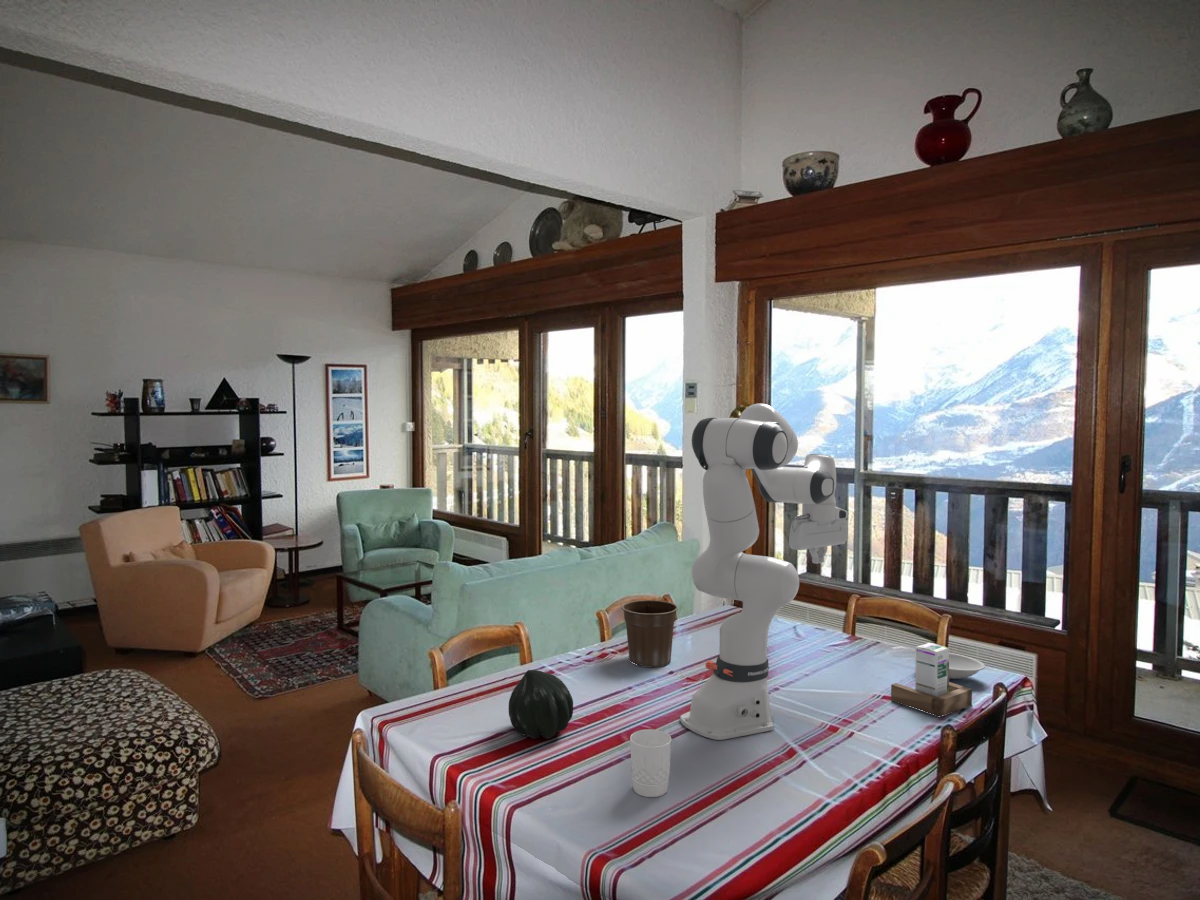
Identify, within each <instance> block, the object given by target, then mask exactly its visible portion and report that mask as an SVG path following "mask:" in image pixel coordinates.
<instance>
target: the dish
mask: <svg viewBox="0 0 1200 900" xmlns="http://www.w3.org/2000/svg"><path fill="white" fill-rule="evenodd" d="M914 658H915V659H916V653H914ZM985 668H986V665H985V663H983V662H982V661H980V660H978V659H975V658H973V657H970V656H966V655H962V654H958V653H953V652H949V680H952V679H967V678H970V677H972V676H974V675H976V674H977V673H979V672H980V671H983V670H984V669H985Z"/></svg>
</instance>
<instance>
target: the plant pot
mask: <svg viewBox="0 0 1200 900" xmlns="http://www.w3.org/2000/svg"><path fill="white" fill-rule="evenodd" d="M678 608H679V607H678V605H676V604H675V603H673V602H669V601H665V600H657V599H653V600H652V599H643V600H642V599H641V600H633V601H629V602H626V603H623V604H622V605H621V609H622V610H623V615H624V616H623V618H624V622H625V627H626V629H625V630H626V637H627V649H628V660H630V661H631V662H633V663H635V664H637V665H638V666H640V665H641V666H643V667H644V666H651V667H650V668H656V667H655V666H660V667H663V666H662V665H664V666H666V664H667V665H668V662H670V663H671V661H672V648H673V639H674V637H673V636H674V628H675V627H674V625H675V622H676V616H677V611H678V610H679V609H678ZM630 661H629V662H630ZM631 662H630V663H631ZM637 665H636V666H637Z"/></svg>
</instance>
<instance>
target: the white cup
mask: <svg viewBox="0 0 1200 900" xmlns="http://www.w3.org/2000/svg"><path fill="white" fill-rule="evenodd" d="M629 737H630V738H629V740H630V741H629V742H630V744H629V745H630V764H631V775H632V777H631V778H632V790H633V791H634V793H636V794H637V795H639V796H641V797H642V796H643V797H647V798H657V797H661V796H663V795H665V794H666V793H668V790H669V788H668V787H669V777H670V769H671V756H672V755H671V754H672V753H671V752H672V751H671V750H672V737H671V735H670V734H669V733H667V732H665V731H662V730H659V729H650V728H649V729H640V730H636V731H634V732H633V733H631V735H630V736H629Z"/></svg>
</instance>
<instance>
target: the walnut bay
mask: <svg viewBox="0 0 1200 900" xmlns="http://www.w3.org/2000/svg"><path fill="white" fill-rule="evenodd" d="M890 689H891V690H890V701H892V700H893V702H895V701H896V703H898V702H899V703H898V704H900V703H902V704H901V705H903V704H904V705H903V706H906V705H907V706H906V707H909V706H911V707H914V708H917V709H920V710H923V711H925V712H928V713H931V714H934V715H936V716H942V715H945V714H947V715H949V714H948V713H950V714H952V713H954V711H955V712H957V711H961V710H963V709H965V708H968V707H970V706H972V703H973V699H972V698H973V689H972V688H969V687H967V686H963V685H960V684H957V683H954V682H952V681H951V682H950V681H949V692H948V693H945V694H943V695H940V696H937V697H936V696H933V695H930V694H927V693H924V692H921V691H918V690H915V688H912V687H909V686H906V685H904V684H900V683H897V682H895V683H891V685H890ZM911 707H910V708H911ZM914 708H913V709H914ZM962 708H963V709H962ZM917 709H916V710H917ZM920 710H919V711H920ZM925 712H924V713H925ZM951 712H952V713H951ZM928 713H927V714H928ZM936 716H935V717H936ZM945 716H946V715H945ZM942 717H943V716H942Z"/></svg>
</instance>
